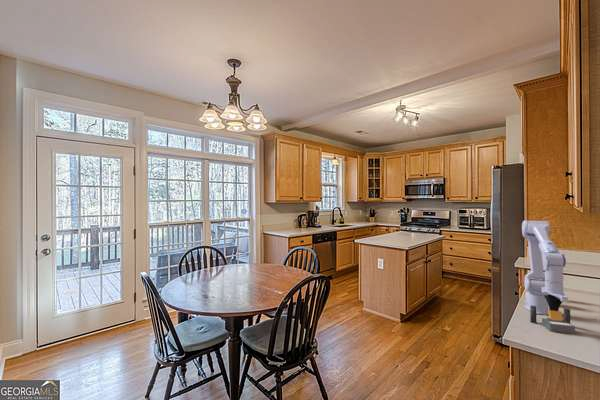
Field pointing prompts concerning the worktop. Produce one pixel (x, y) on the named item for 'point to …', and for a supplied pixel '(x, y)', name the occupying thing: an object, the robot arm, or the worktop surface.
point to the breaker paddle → (555, 315)
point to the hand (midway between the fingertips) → (554, 313)
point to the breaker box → (558, 326)
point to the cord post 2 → (567, 315)
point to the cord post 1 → (533, 314)
